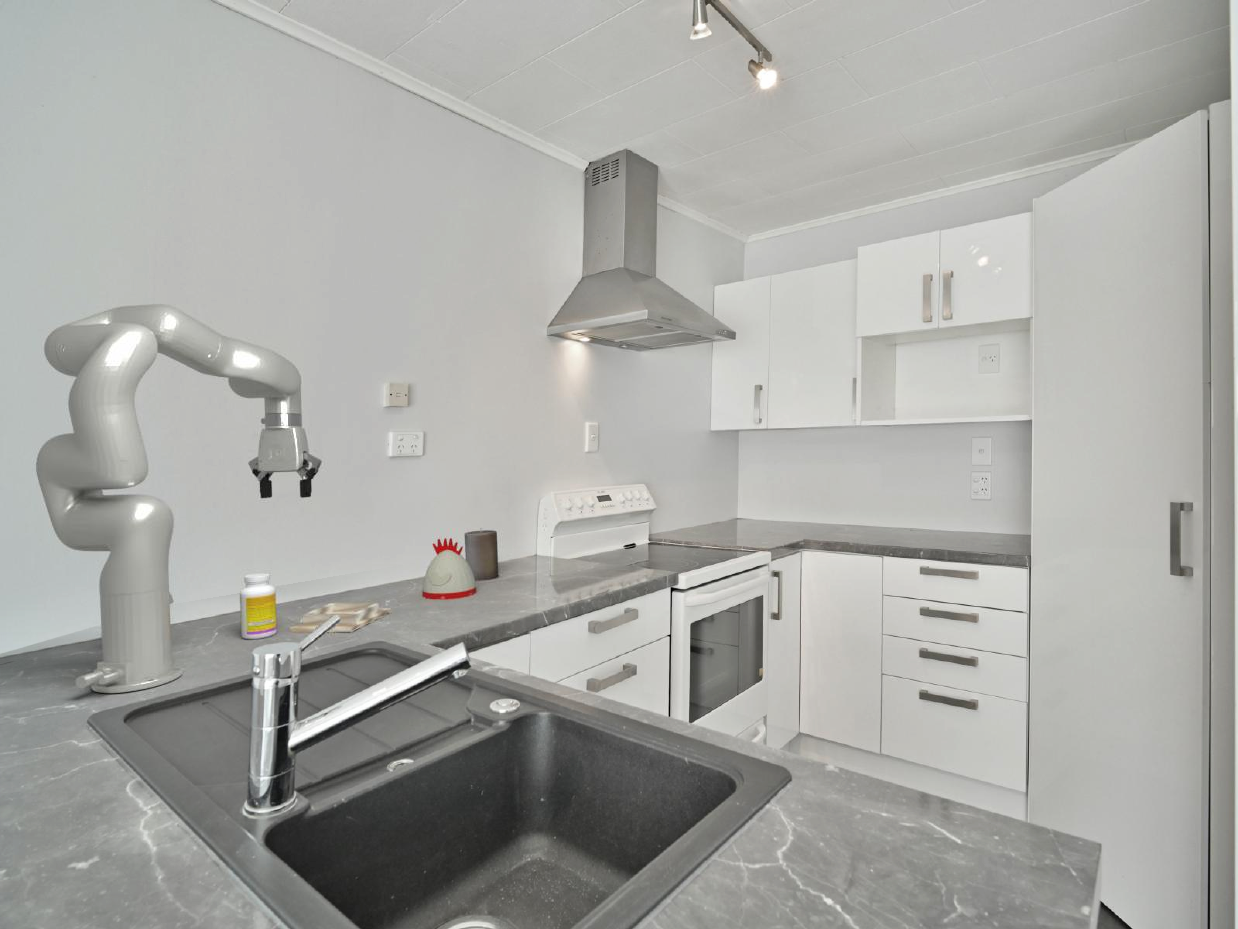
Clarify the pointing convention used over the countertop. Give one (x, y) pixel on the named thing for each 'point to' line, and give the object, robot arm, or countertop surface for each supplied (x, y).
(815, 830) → the countertop surface
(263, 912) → the countertop surface
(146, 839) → the countertop surface
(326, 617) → the beige flat rectangular tray
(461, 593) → the kitchen timer
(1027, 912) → the countertop surface
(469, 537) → the pillar candle
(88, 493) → the robot arm
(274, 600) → the supplement bottle
